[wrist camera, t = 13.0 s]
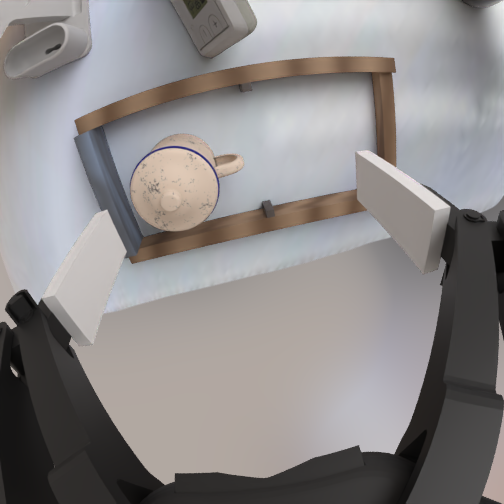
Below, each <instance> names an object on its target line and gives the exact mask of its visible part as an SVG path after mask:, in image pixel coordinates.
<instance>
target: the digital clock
mask: <svg viewBox="0 0 504 504" xmlns="http://www.w3.org/2000/svg"><path fill="white" fill-rule="evenodd" d="M170 1H171V2H172V4H173V6H174V8H175V9H176V11H177V13H178V15H179V16H180V18H181V20H182V22H183V24H184V25H185V27H186V29H187V31H188V33H189V35H190V36H191V38H192V40H193V42H194V44H195V46H196V47H197V49H198V51H199V53H200V54H201V55H202V56H205V57H209V58H213V57H215V56H217V55H218V54H220V53H221V52H223V51H224V50H226V49H227V48H229V47H231V46H232V45H234V44H235V43H237V42H238V41H240V40H242V39H243V38H245V37H246V36H248V35H249V34H251V33H252V32H253V31H254V29H255V28H256V25H257V20H256V17H255V15H254V13H253V11H252V9H251V7H250V5H249V3H248V1H247V0H170Z"/></svg>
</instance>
